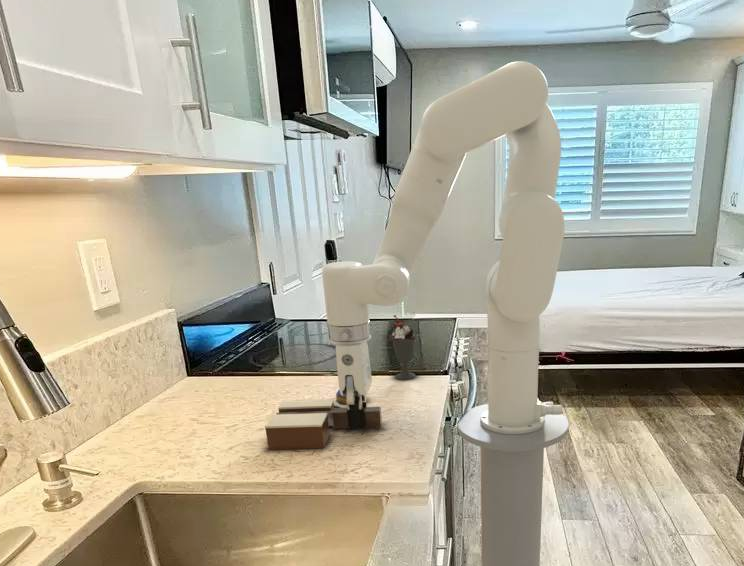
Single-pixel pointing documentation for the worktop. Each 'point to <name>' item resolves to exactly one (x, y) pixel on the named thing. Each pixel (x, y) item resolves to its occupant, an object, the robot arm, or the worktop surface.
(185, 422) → the worktop surface
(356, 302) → the robot arm
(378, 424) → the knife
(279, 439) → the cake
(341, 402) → the dessert
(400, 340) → the sundae
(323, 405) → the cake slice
